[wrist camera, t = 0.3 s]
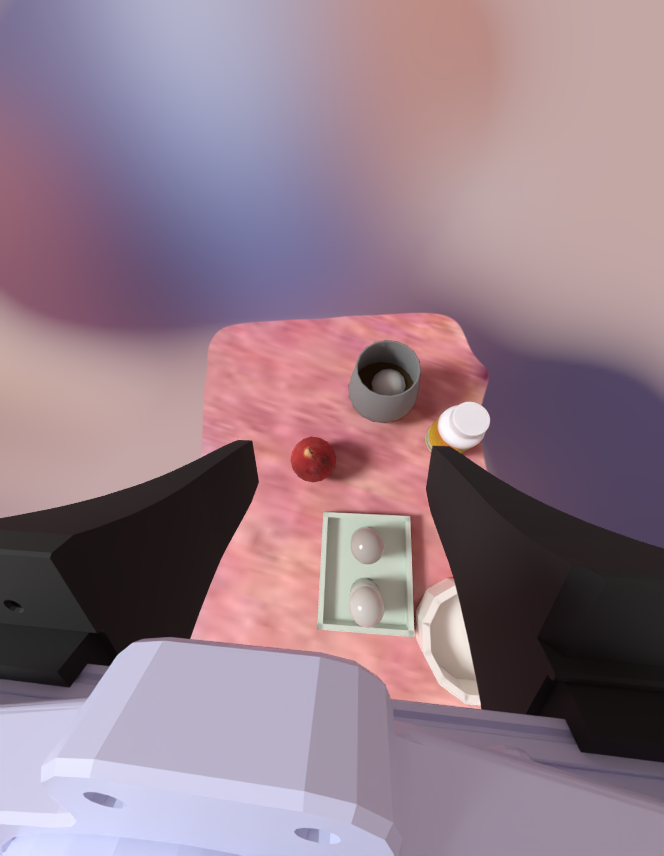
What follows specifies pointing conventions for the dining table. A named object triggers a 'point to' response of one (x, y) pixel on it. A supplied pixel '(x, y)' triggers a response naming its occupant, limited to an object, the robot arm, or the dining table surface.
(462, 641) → the bowl
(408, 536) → the tray
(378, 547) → the stone
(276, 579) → the dining table surface
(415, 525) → the dining table surface
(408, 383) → the cup
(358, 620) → the stone
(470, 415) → the supplement bottle
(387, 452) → the dining table surface
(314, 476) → the onion
